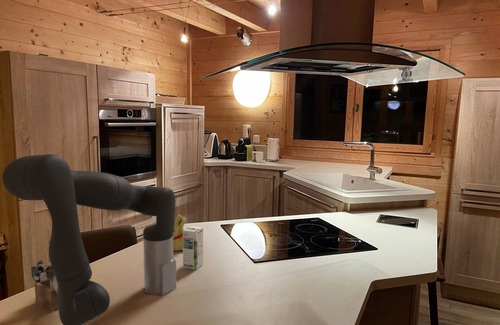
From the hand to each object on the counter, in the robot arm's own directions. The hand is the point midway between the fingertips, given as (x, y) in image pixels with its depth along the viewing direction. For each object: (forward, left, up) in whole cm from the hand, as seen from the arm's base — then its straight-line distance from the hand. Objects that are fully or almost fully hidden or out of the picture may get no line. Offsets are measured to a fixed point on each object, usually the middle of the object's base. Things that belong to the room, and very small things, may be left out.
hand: (56, 260), depth 106 cm
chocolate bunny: (-4, -49, -12) cm, 51 cm away
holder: (-2, +1, -12) cm, 12 cm away
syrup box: (-19, -40, -12) cm, 46 cm away
